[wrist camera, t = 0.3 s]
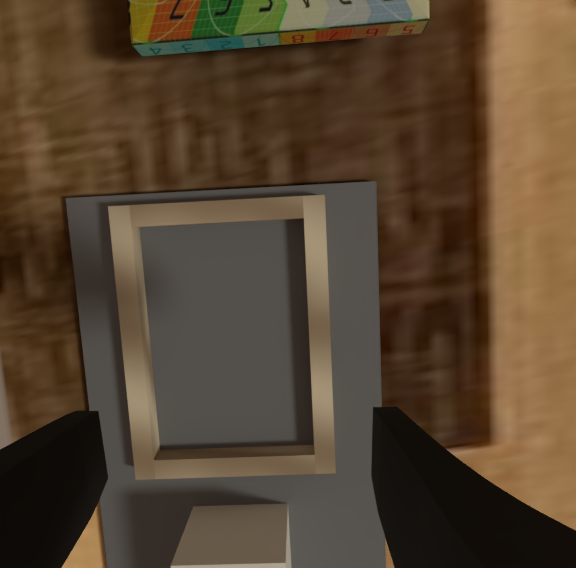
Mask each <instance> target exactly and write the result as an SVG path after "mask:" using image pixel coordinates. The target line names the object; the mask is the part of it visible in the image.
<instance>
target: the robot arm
mask: <svg viewBox="0 0 576 568" xmlns="http://www.w3.org/2000/svg"><path fill="white" fill-rule="evenodd" d="M371 477H372V483H373V488H374V494H375V499H376V505H377V510H378V514H379V518H380V521H381V525H382V528H383V531H384V534H385V538H386V541H387V544H388V547H389V551H390V554H391V557H392V560H393V564H394V567H395V568H576V531H575V530H573V529H571V528H569V527H567V526H566V525H564V524H562V523H560V522H558V521H556V520H554V519H552V518H550V517H548V516H547V515H545V514H543V513H541V512H539V511H537V510H535V509H534V508H532V507H530V506H528V505H527V504H525V503H523V502H521V501H520V500H518V499H516V498H515V497H513V496H512V495H510V494H508V493H507V492H505V491H504V490H502V489H500V488H499V487H497V486H496V485H494V484H493V483H491V482H490V481H488V480H487V479H485V478H484V477H482V476H481V475H479V474H478V473H477V472H475V471H474V470H472V469H471V468H470V467H468V466H467V465H466V464H464V463H463V462H462V461H460V460H459V459H458V458H456V457H455V456H454V455H452V454H451V453H450V452H449V451H447V450H446V449H445V448H444V447H442V446H441V445H440V444H439V443H438V442H436V441H435V440H434V439H433V438H432V437H431V436H429V435H428V434H427V433H426V432H425V431H424V430H422V429H421V428H420V427H419V426H418V425H417V424H416V423H415V422H413V421H412V420H411V419H410V418H409V417H408V416H407V415H406V414H405V413H403V412H402V411H401V410H400V409H399V408H397V407H373V424H372V464H371ZM107 480H108V472H107V465H106V459H105V452H104V445H103V438H102V431H101V425H100V418H99V411H75V412H72V413H70V414H67V415H65V416H63V417H61V418H59V419H57V420H55V421H53V422H51V423H49V424H47V425H45V426H43V427H42V428H40V429H38V430H36V431H34V432H32V433H30V434H28V435H27V436H25V437H23V438H21V439H19V440H17V441H15V442H14V443H12V444H10V445H8V446H6V447H4V448H2V449H1V450H0V568H61V567H62V566H63V564H64V562H65V561H66V559H67V557H68V556H69V554H70V552H71V551H72V549H73V547H74V546H75V544H76V542H77V541H78V539H79V537H80V536H81V534H82V532H83V531H84V529H85V527H86V525H87V524H88V522H89V520H90V518H91V517H92V515H93V513H94V510H95V508H96V506H97V504H98V502H99V499H100V497H101V495H102V492H103V490H104V487H105V485H106V483H107Z"/></svg>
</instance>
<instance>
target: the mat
mask: <svg viewBox="0 0 576 568" xmlns="http://www.w3.org/2000/svg"><path fill="white" fill-rule="evenodd" d="M310 195H325V211H326V236H327V262H328V287H329V313H330V338H331V363H332V389H333V414H334V440H335V465H336V473H330V474H299V475H269V476H239V477H208V478H178V479H147V480H136V479H135V469H134V459H133V449H132V440H131V430H130V420H129V410H128V400H127V390H126V380H125V370H124V360H123V351H122V341H121V331H120V321H119V311H118V301H117V291H116V281H115V271H114V262H113V252H112V242H111V232H110V222H109V212H108V206H125V205H143V204H162V203H180V202H199V201H218V200H236V199H255V198H273V197H292V196H310ZM66 207H67V216H68V225H69V234H70V242H71V251H72V260H73V269H74V278H75V287H76V296H77V304H78V313H79V322H80V331H81V340H82V349H83V358H84V366H85V375H86V384H87V393H88V402H89V411H99V418H100V425H101V431H102V438H103V445H104V452H105V459H106V465H107V472H108V480H107V483H106V485H105V487H104V490H103V492H102V495H101V497H100V508H101V517H102V526H103V535H104V543H105V552H106V561H107V568H171V563H172V561H173V558H174V556H175V553H176V550H177V548H178V545H179V543H180V540H181V537H182V535H183V532H184V530H185V527H186V524H187V522H188V519H189V517H190V514H191V511H192V509H193V506H219V505H251V504H284V503H288V514H289V532H290V551H291V568H386V559H385V534H384V531H383V528H382V525H381V521H380V518H379V514H378V510H377V505H376V499H375V494H374V488H373V483H372V477H371V464H372V424H373V407H382V397H381V357H380V316H379V276H378V235H377V195H376V181H370V182H351V183H333V184H315V185H297V186H278V187H260V188H242V189H223V190H205V191H187V192H168V193H150V194H132V195H113V196H95V197H77V198H66ZM139 228H140V238H141V249H142V260H143V271H144V281H145V292H146V303H147V314H148V325H149V335H150V346H151V357H152V368H153V379H154V389H155V400H156V411H157V422H158V432H159V443H160V450H176V449H205V448H233V447H262V446H290V445H314V435H313V413H312V391H311V370H310V348H309V326H308V304H307V282H306V260H305V238H304V219H290V220H271V221H252V222H233V223H214V224H194V225H175V226H156V227H139Z"/></svg>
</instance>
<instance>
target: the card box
mask: <svg viewBox="0 0 576 568" xmlns="http://www.w3.org/2000/svg"><path fill="white" fill-rule="evenodd" d="M171 568H291V551H290V532H289V514H288V503H284V504H251V505H219V506H193V509H192V511H191V514H190V517H189V519H188V522H187V524H186V527H185V530H184V532H183V535H182V537H181V540H180V543H179V545H178V548H177V550H176V553H175V556H174V558H173V561H172V563H171Z"/></svg>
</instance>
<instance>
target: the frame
mask: <svg viewBox="0 0 576 568" xmlns="http://www.w3.org/2000/svg"><path fill="white" fill-rule="evenodd" d="M108 212H109V222H110V232H111V242H112V252H113V262H114V271H115V281H116V291H117V301H118V311H119V321H120V331H121V341H122V351H123V360H124V370H125V380H126V390H127V400H128V410H129V420H130V430H131V440H132V449H133V459H134V469H135V479H136V480H147V479H178V478H208V477H239V476H269V475H299V474H330V473H336V465H335V440H334V414H333V389H332V363H331V338H330V313H329V287H328V262H327V236H326V211H325V195H310V196H292V197H273V198H255V199H236V200H218V201H199V202H180V203H162V204H143V205H125V206H108ZM290 219H304V238H305V260H306V282H307V304H308V326H309V348H310V370H311V391H312V413H313V435H314V445H290V446H262V447H233V448H205V449H176V450H160V443H159V432H158V422H157V411H156V400H155V389H154V379H153V368H152V357H151V346H150V335H149V325H148V314H147V303H146V292H145V281H144V271H143V260H142V249H141V238H140V228H139V227H156V226H175V225H194V224H214V223H233V222H252V221H271V220H290Z"/></svg>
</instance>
